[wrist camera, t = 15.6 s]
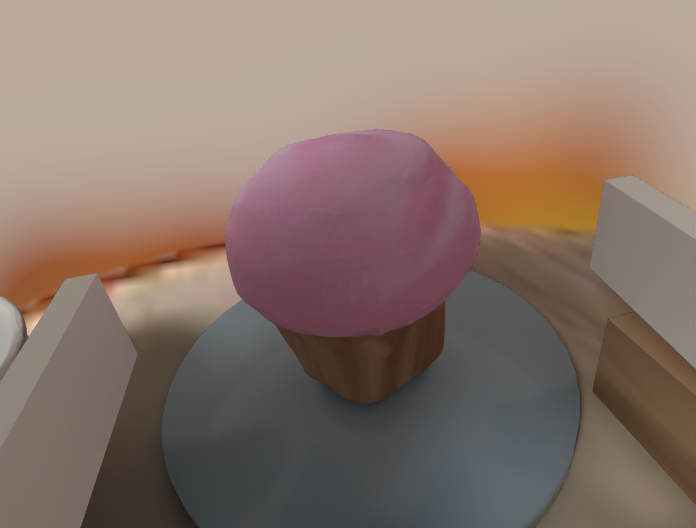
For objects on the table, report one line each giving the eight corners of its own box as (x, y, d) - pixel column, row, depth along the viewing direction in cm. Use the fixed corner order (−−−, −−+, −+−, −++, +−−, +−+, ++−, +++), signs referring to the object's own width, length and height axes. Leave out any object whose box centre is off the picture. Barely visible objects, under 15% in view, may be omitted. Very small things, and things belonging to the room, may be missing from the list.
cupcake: (513, 347, 20) (532, 110, 15) (385, 503, 15) (342, 234, 10) (357, 281, 26) (329, 90, 20) (225, 381, 21) (142, 164, 15)
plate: (93, 603, 15) (76, 585, 15) (229, 285, 29) (224, 269, 29) (665, 601, 13) (676, 580, 13) (516, 262, 27) (517, 244, 27)
